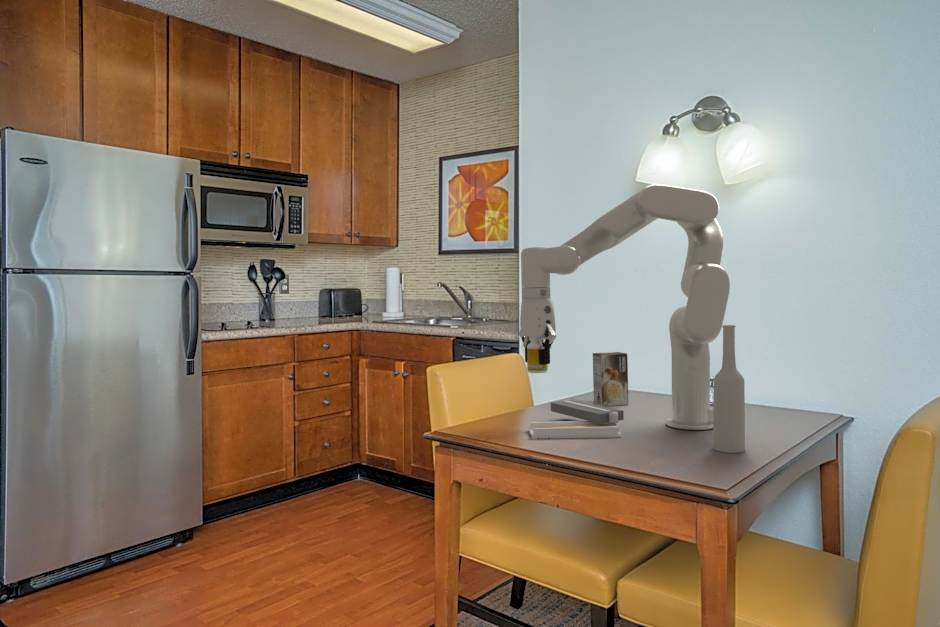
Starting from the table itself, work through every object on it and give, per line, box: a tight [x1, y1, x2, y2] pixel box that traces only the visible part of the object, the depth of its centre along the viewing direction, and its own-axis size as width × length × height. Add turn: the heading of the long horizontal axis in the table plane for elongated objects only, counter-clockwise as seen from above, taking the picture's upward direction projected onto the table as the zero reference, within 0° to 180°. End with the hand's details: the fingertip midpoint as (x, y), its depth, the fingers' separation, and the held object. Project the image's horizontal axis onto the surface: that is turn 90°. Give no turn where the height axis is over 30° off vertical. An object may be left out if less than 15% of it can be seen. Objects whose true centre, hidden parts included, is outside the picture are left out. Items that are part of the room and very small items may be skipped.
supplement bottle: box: [526, 336, 549, 374], centre depth 172 cm, size 5×5×10 cm
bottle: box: [712, 324, 746, 454], centre depth 146 cm, size 7×7×28 cm
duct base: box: [527, 420, 623, 440], centre depth 164 cm, size 22×9×2 cm, turn 90°
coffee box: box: [592, 351, 629, 407], centre depth 203 cm, size 9×6×16 cm
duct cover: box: [550, 399, 625, 424], centre depth 173 cm, size 22×8×3 cm, turn 30°
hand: (537, 362), depth 172 cm, fingers closed on supplement bottle, 5 cm apart
